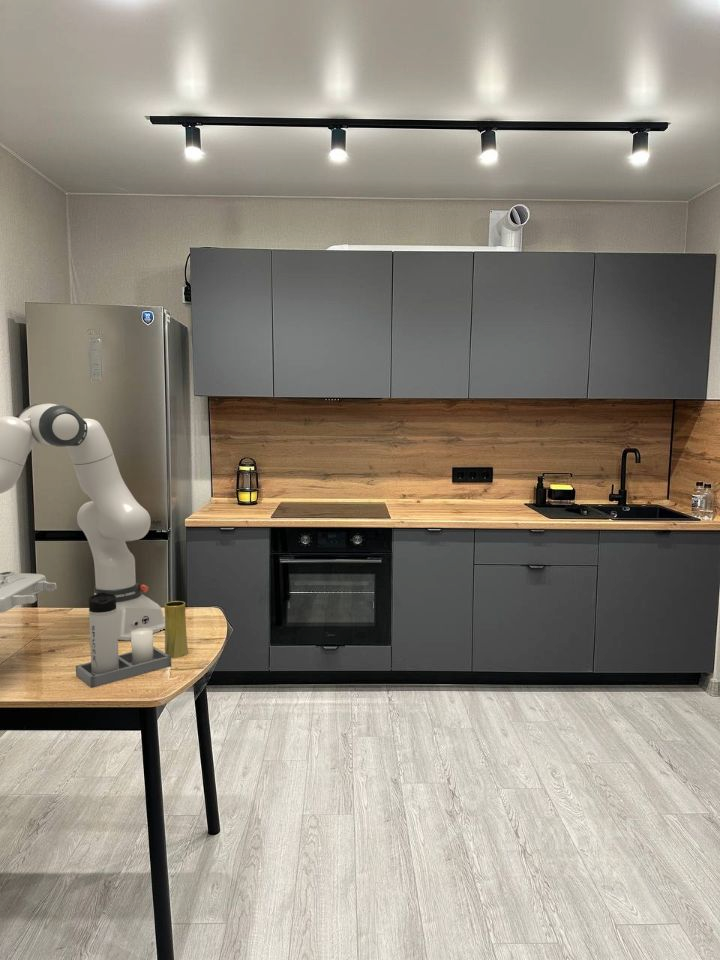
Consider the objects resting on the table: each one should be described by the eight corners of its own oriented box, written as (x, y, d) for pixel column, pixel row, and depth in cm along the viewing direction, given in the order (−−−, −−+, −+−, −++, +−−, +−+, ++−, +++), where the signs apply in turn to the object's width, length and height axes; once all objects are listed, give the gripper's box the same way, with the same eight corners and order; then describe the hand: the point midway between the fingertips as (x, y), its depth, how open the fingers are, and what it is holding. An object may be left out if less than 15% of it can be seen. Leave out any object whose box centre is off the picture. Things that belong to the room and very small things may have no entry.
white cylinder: (148, 660, 172) (147, 626, 171) (157, 665, 169) (156, 631, 168) (128, 665, 169) (127, 630, 168) (137, 671, 165) (136, 635, 164)
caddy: (153, 657, 176) (153, 646, 176) (171, 668, 169) (170, 656, 168) (76, 677, 163) (75, 665, 162) (91, 690, 155) (91, 677, 155)
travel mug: (117, 668, 167) (114, 590, 165) (120, 677, 161) (117, 597, 159) (90, 672, 164) (87, 593, 162) (92, 682, 158) (89, 600, 156)
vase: (163, 653, 179) (162, 601, 177) (187, 650, 181) (185, 599, 180) (165, 661, 173) (163, 608, 172) (189, 658, 175) (188, 605, 174)
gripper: (-38, 593, 152) (21, 593, 151) (12, 569, 172) (64, 569, 172) (-36, 619, 153) (23, 619, 152) (14, 593, 173) (66, 592, 172)
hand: (45, 592), depth 162 cm, fingers open, 8 cm apart
